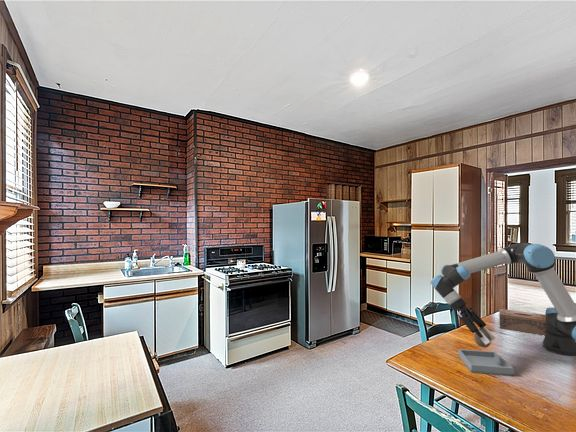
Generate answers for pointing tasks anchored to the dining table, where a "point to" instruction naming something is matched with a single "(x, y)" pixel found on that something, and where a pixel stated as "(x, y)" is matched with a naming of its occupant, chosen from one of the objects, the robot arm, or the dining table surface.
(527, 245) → the robot arm
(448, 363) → the dining table surface
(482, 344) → the vase
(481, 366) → the box
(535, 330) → the tissue box cover
